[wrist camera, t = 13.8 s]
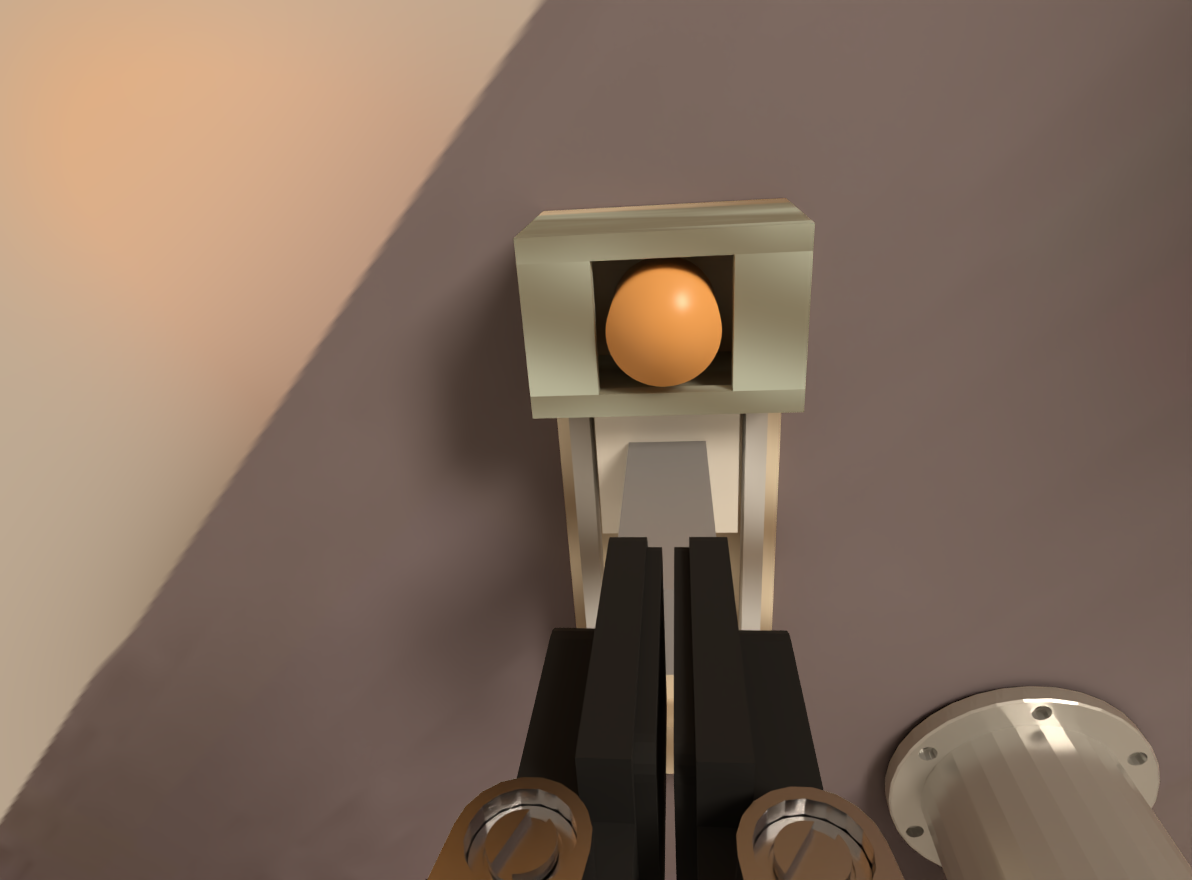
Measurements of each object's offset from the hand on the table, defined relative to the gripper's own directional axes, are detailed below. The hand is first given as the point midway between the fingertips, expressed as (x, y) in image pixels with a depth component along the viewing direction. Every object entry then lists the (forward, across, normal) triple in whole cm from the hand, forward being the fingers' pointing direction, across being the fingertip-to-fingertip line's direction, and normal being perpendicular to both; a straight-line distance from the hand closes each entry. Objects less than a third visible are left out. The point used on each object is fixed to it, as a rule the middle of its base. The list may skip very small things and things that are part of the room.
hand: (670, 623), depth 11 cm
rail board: (+20, 0, +10) cm, 22 cm away
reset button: (+17, 0, 0) cm, 17 cm away
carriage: (+19, 0, +6) cm, 20 cm away
